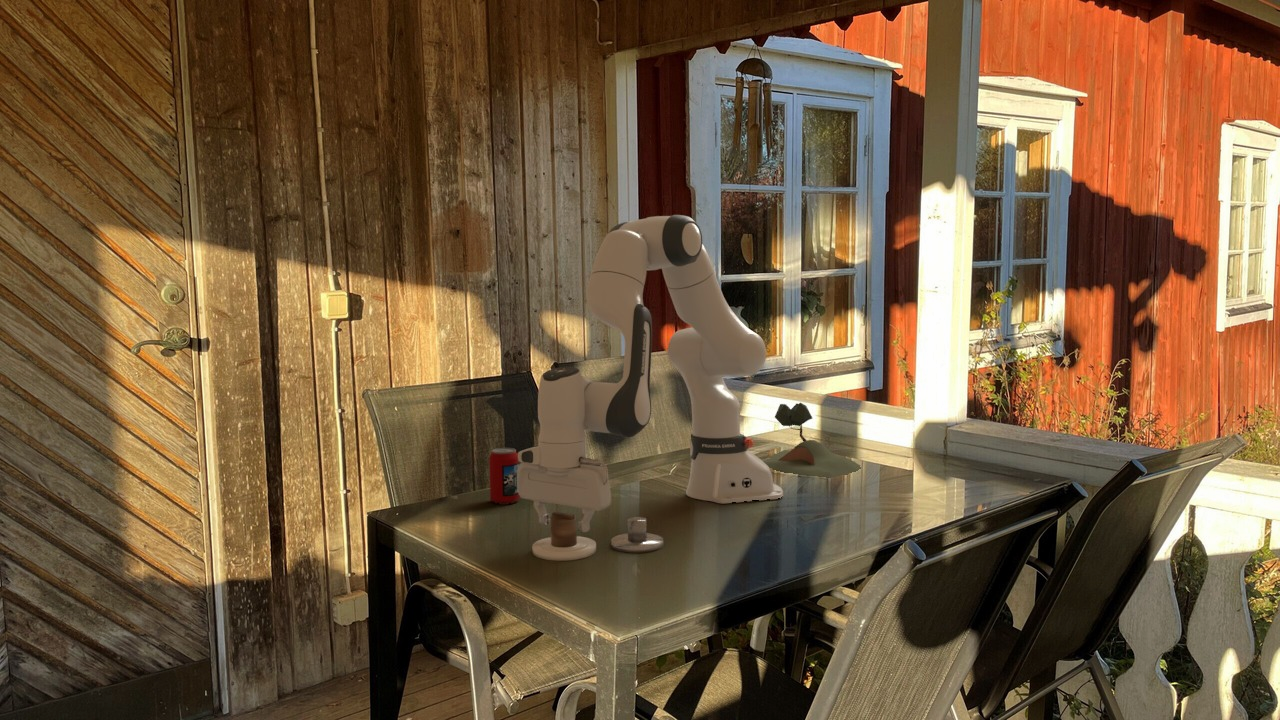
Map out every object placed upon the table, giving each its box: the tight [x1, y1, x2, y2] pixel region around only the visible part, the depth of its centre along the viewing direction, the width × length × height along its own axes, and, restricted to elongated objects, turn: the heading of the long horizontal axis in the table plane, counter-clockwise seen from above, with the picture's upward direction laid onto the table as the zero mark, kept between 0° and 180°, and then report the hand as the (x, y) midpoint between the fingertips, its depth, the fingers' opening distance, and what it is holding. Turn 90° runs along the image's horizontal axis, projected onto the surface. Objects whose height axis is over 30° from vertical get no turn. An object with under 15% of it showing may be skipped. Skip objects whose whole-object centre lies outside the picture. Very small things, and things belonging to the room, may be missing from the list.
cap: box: [550, 511, 578, 547], centre depth 179 cm, size 5×5×6 cm
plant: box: [764, 402, 862, 478], centre depth 254 cm, size 29×35×18 cm
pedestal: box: [610, 516, 664, 554], centre depth 183 cm, size 10×10×5 cm
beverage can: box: [488, 447, 521, 505], centre depth 218 cm, size 7×7×12 cm
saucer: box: [532, 535, 597, 562], centre depth 180 cm, size 12×12×1 cm
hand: (564, 527), depth 179 cm, fingers open, 8 cm apart
